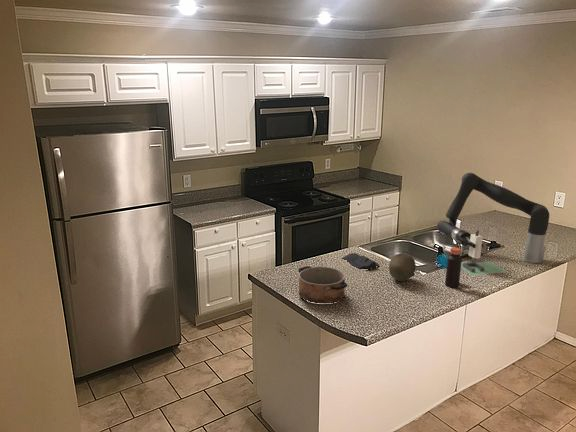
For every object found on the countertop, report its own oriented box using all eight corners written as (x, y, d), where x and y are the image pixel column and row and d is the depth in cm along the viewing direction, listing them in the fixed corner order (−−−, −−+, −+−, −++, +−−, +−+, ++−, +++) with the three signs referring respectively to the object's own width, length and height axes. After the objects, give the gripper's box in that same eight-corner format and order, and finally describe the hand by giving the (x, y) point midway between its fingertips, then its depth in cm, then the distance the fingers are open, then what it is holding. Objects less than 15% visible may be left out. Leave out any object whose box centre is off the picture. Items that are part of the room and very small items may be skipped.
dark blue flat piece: (357, 256, 278) (358, 248, 276) (382, 267, 259) (382, 260, 258) (337, 260, 270) (337, 253, 269) (360, 273, 252) (361, 265, 251)
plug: (474, 254, 254) (478, 228, 250) (481, 258, 248) (484, 232, 244) (468, 254, 253) (471, 229, 249) (474, 258, 247) (478, 232, 243)
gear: (440, 269, 252) (436, 252, 257) (434, 273, 257) (430, 257, 262) (457, 270, 254) (453, 253, 259) (452, 274, 259) (448, 258, 264)
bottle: (457, 289, 230) (461, 252, 225) (443, 286, 234) (447, 249, 228) (460, 284, 236) (464, 248, 230) (446, 281, 239) (450, 245, 234)
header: (472, 264, 260) (472, 260, 259) (484, 271, 250) (484, 267, 249) (460, 265, 258) (460, 261, 258) (471, 272, 248) (472, 268, 248)
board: (489, 263, 264) (489, 261, 264) (507, 273, 249) (508, 271, 249) (455, 266, 260) (455, 264, 259) (471, 277, 245) (472, 275, 244)
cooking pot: (359, 300, 220) (360, 279, 217) (325, 313, 207) (325, 291, 204) (318, 280, 243) (318, 261, 240) (285, 291, 230) (285, 271, 227)
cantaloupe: (382, 277, 245) (383, 251, 240) (404, 274, 249) (406, 248, 245) (397, 288, 232) (399, 260, 228) (420, 284, 237) (422, 257, 233)
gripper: (450, 230, 260) (467, 240, 244) (472, 229, 263) (491, 238, 247) (449, 243, 262) (466, 253, 246) (471, 241, 265) (489, 251, 249)
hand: (478, 245), depth 247 cm, fingers closed on plug, 4 cm apart
